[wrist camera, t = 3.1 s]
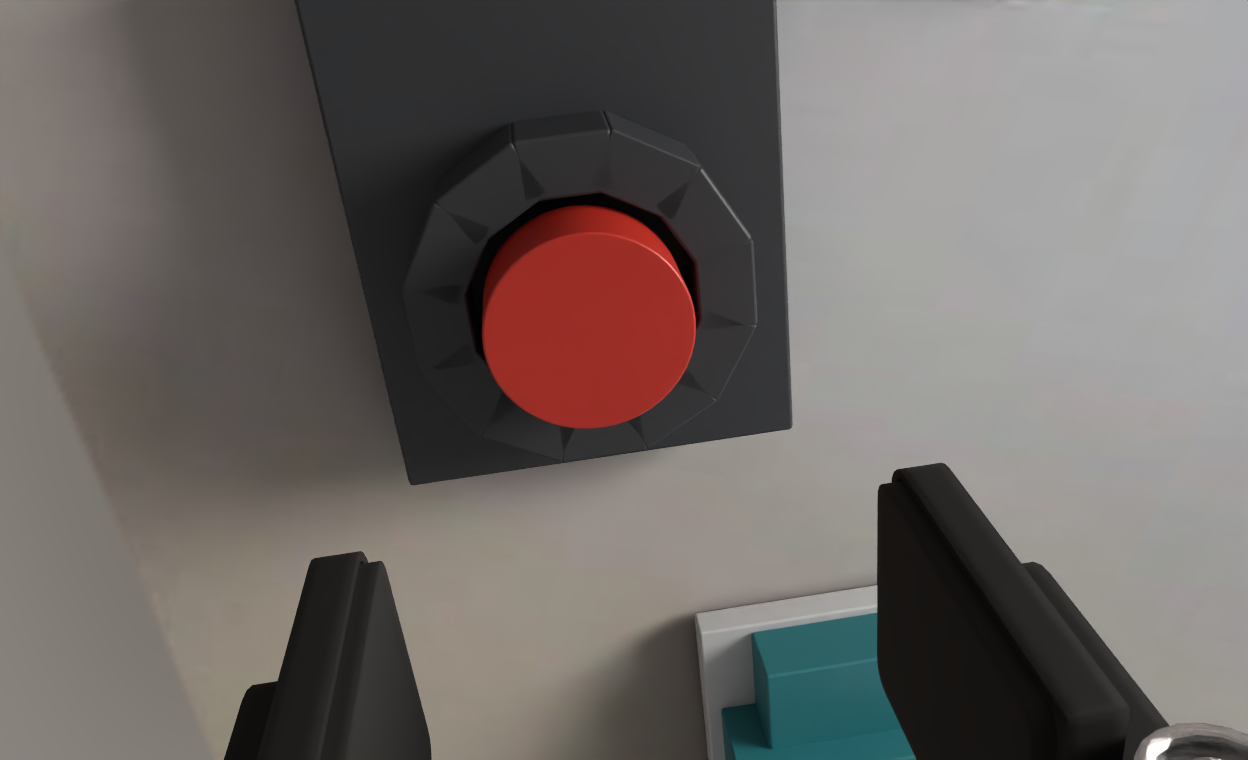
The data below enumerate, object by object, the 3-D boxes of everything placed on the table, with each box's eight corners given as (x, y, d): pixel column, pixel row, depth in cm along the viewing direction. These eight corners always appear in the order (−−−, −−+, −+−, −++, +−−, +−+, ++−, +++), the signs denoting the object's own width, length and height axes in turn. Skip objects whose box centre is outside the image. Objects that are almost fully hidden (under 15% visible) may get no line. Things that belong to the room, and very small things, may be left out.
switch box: (296, -85, 20) (253, -76, 17) (745, -140, 21) (796, -142, 17) (416, 438, 26) (403, 529, 22) (770, 386, 26) (813, 467, 23)
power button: (466, 219, 20) (463, 248, 18) (673, 191, 20) (687, 218, 18) (500, 402, 22) (500, 444, 20) (689, 374, 22) (703, 413, 20)
